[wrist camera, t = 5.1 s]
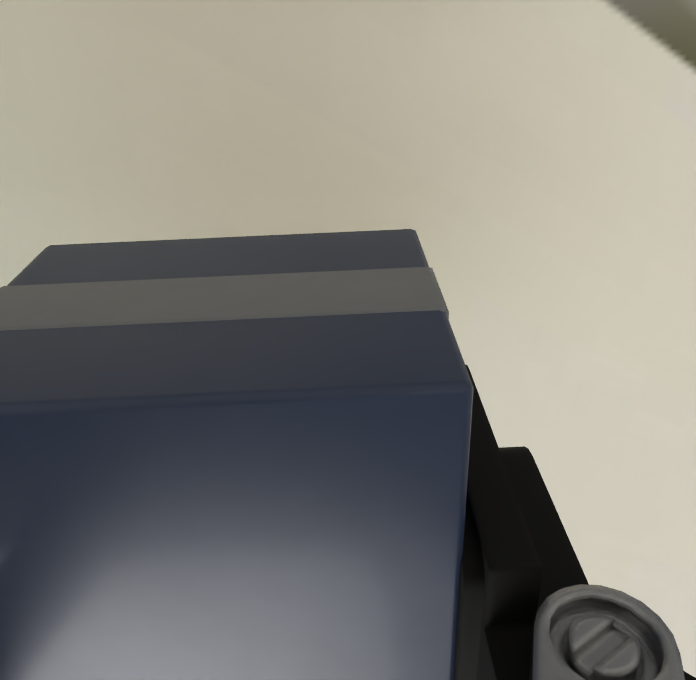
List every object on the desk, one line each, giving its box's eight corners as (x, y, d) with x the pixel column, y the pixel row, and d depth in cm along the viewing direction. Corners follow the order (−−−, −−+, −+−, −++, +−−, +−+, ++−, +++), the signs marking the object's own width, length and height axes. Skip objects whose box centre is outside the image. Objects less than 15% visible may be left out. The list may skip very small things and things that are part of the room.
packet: (44, 242, 9) (-135, 412, 5) (418, 224, 9) (478, 382, 6) (140, 602, 12) (68, 851, 9) (412, 588, 12) (448, 829, 9)
